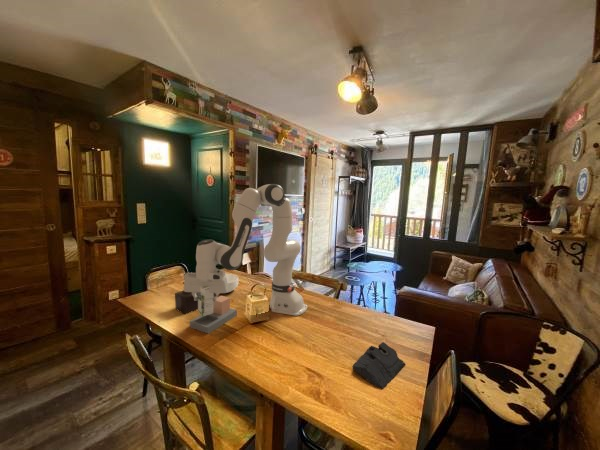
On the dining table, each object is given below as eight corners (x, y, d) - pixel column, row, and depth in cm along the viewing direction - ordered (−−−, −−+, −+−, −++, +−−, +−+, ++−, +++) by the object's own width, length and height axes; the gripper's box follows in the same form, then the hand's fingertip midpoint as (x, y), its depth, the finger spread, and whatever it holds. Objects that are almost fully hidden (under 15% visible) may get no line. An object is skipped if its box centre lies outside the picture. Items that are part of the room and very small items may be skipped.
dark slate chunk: (345, 369, 94) (345, 358, 93) (373, 346, 109) (374, 336, 109) (382, 393, 83) (383, 380, 82) (408, 363, 98) (409, 352, 98)
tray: (219, 310, 136) (219, 293, 135) (236, 315, 131) (236, 297, 130) (189, 327, 118) (189, 307, 117) (208, 333, 113) (207, 313, 112)
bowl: (244, 289, 167) (244, 277, 166) (221, 299, 150) (221, 286, 149) (225, 283, 177) (224, 271, 176) (201, 291, 161) (201, 279, 160)
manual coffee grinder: (203, 307, 139) (202, 277, 137) (184, 314, 130) (183, 282, 128) (189, 299, 148) (188, 271, 146) (170, 305, 139) (169, 275, 137)
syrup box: (197, 312, 120) (197, 284, 118) (209, 308, 124) (209, 281, 122) (202, 317, 116) (201, 288, 114) (214, 313, 120) (214, 285, 118)
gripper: (180, 274, 113) (181, 302, 116) (225, 276, 115) (225, 304, 117) (186, 270, 120) (186, 296, 122) (228, 272, 121) (228, 298, 123)
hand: (205, 300), depth 119 cm, fingers closed on syrup box, 8 cm apart
